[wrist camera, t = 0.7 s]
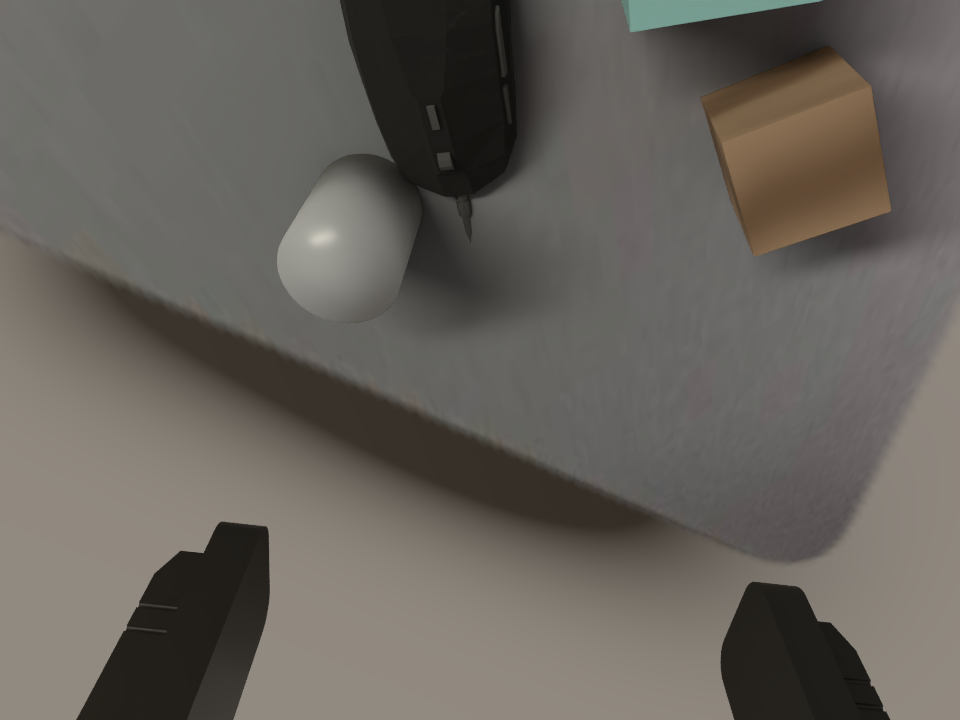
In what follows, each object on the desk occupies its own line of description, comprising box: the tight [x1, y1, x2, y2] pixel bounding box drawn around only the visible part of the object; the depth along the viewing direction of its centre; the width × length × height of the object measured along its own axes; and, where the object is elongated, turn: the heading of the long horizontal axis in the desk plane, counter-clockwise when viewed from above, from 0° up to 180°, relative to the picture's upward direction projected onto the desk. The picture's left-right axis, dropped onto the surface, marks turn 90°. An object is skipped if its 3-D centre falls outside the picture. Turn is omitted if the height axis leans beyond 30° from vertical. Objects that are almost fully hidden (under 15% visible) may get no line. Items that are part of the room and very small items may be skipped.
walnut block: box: [700, 45, 891, 257], centre depth 29 cm, size 5×5×5 cm
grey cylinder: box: [277, 154, 422, 323], centre depth 33 cm, size 5×5×6 cm
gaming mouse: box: [340, 0, 517, 242], centre depth 30 cm, size 6×15×4 cm, turn 9°
